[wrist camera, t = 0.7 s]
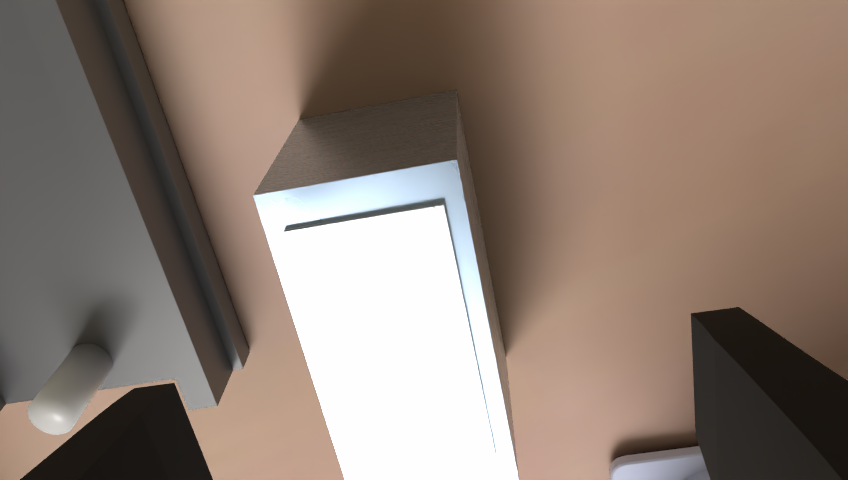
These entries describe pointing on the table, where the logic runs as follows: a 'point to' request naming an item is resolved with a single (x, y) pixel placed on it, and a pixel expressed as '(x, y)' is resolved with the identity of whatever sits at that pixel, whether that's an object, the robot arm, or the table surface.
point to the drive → (393, 290)
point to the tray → (98, 224)
